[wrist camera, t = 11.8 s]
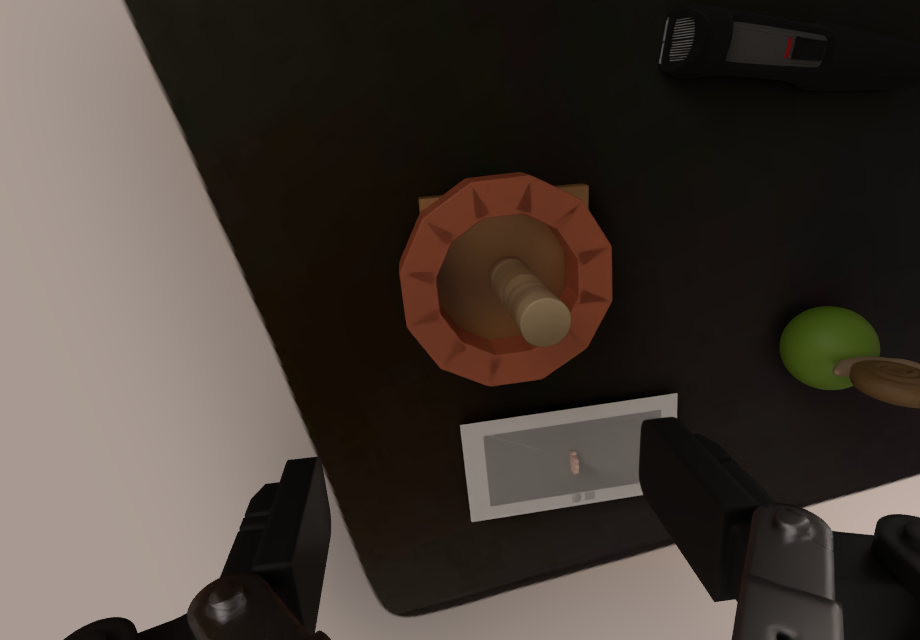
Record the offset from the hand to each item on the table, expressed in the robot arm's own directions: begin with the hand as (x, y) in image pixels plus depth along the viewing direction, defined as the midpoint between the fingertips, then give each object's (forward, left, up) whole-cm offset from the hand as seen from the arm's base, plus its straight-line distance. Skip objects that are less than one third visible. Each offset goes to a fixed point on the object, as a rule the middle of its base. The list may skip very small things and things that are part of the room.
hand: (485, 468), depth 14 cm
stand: (+1, +4, -22) cm, 22 cm away
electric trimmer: (-11, +21, -22) cm, 33 cm away
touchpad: (+14, +8, -22) cm, 28 cm away
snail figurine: (+7, +25, -22) cm, 34 cm away
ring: (+1, +4, -21) cm, 21 cm away
